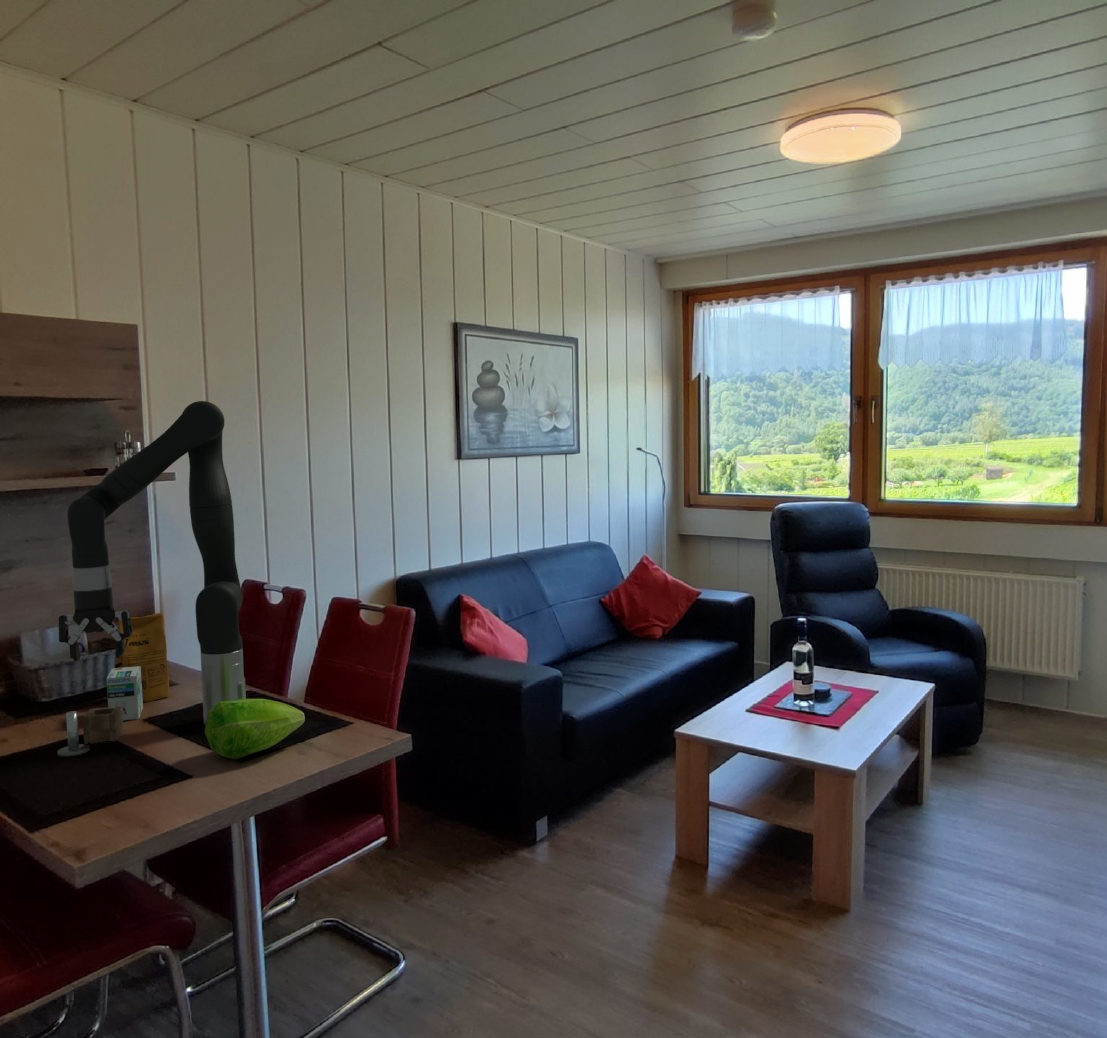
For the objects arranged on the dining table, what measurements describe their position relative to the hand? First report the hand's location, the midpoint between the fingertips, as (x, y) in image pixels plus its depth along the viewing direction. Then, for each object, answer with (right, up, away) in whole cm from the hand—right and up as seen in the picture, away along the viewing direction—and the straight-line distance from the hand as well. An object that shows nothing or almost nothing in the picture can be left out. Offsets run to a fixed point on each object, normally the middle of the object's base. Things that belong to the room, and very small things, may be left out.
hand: (97, 658), depth 185 cm
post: (-1, -19, -7) cm, 20 cm away
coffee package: (-6, -16, +32) cm, 36 cm away
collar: (+1, -18, +1) cm, 18 cm away
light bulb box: (-3, -17, +18) cm, 25 cm away
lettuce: (+39, -19, -9) cm, 44 cm away
